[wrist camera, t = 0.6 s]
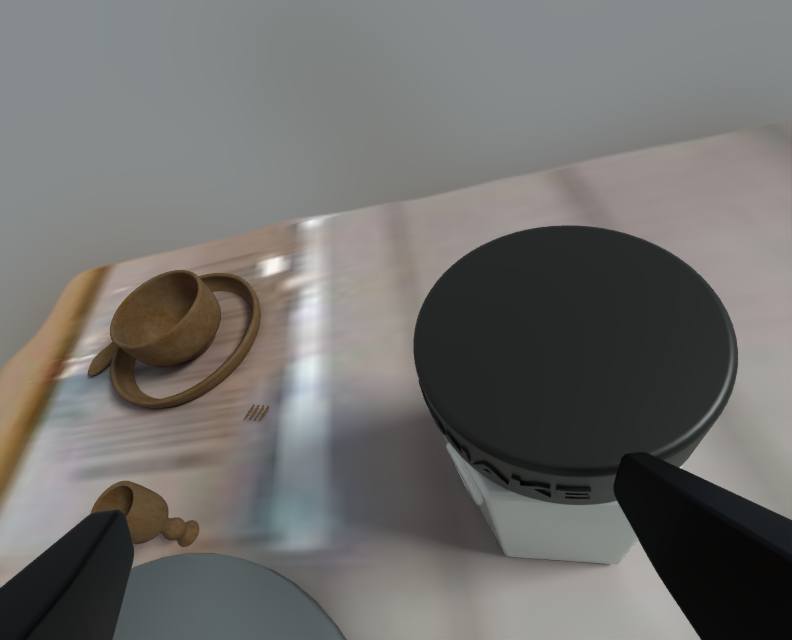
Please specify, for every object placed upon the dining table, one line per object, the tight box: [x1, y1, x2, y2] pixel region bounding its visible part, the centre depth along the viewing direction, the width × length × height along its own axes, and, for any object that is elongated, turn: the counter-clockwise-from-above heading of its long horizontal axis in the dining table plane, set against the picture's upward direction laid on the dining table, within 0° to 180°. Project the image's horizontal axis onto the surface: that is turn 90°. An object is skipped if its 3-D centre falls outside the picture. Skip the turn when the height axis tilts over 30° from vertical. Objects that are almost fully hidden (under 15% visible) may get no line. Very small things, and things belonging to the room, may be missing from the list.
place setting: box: [88, 270, 269, 547], centre depth 29 cm, size 18×20×6 cm
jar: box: [414, 226, 738, 564], centre depth 16 cm, size 9×8×12 cm
